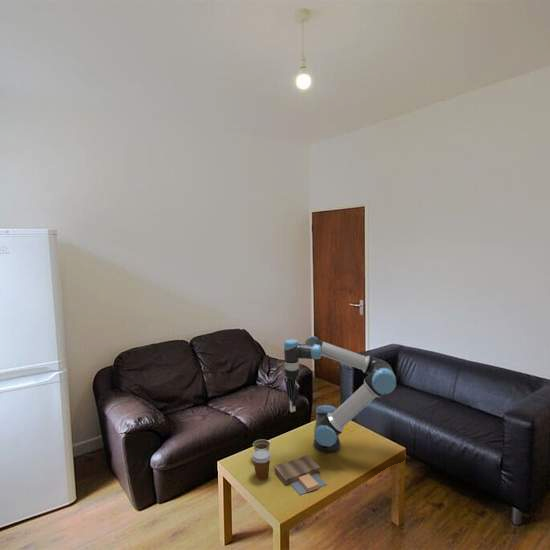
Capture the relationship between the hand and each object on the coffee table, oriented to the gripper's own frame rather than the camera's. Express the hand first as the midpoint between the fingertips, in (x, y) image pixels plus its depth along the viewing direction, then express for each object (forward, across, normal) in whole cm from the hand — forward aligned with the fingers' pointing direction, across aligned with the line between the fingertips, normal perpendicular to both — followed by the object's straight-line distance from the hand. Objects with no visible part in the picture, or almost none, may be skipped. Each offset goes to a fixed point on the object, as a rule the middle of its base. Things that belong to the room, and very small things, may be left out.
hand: (292, 411), depth 195 cm
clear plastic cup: (+27, -7, -16) cm, 32 cm away
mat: (+26, +22, -5) cm, 35 cm away
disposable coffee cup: (+27, +6, -22) cm, 35 cm away
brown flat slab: (+26, +12, -5) cm, 29 cm away
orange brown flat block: (+26, +23, -5) cm, 35 cm away
